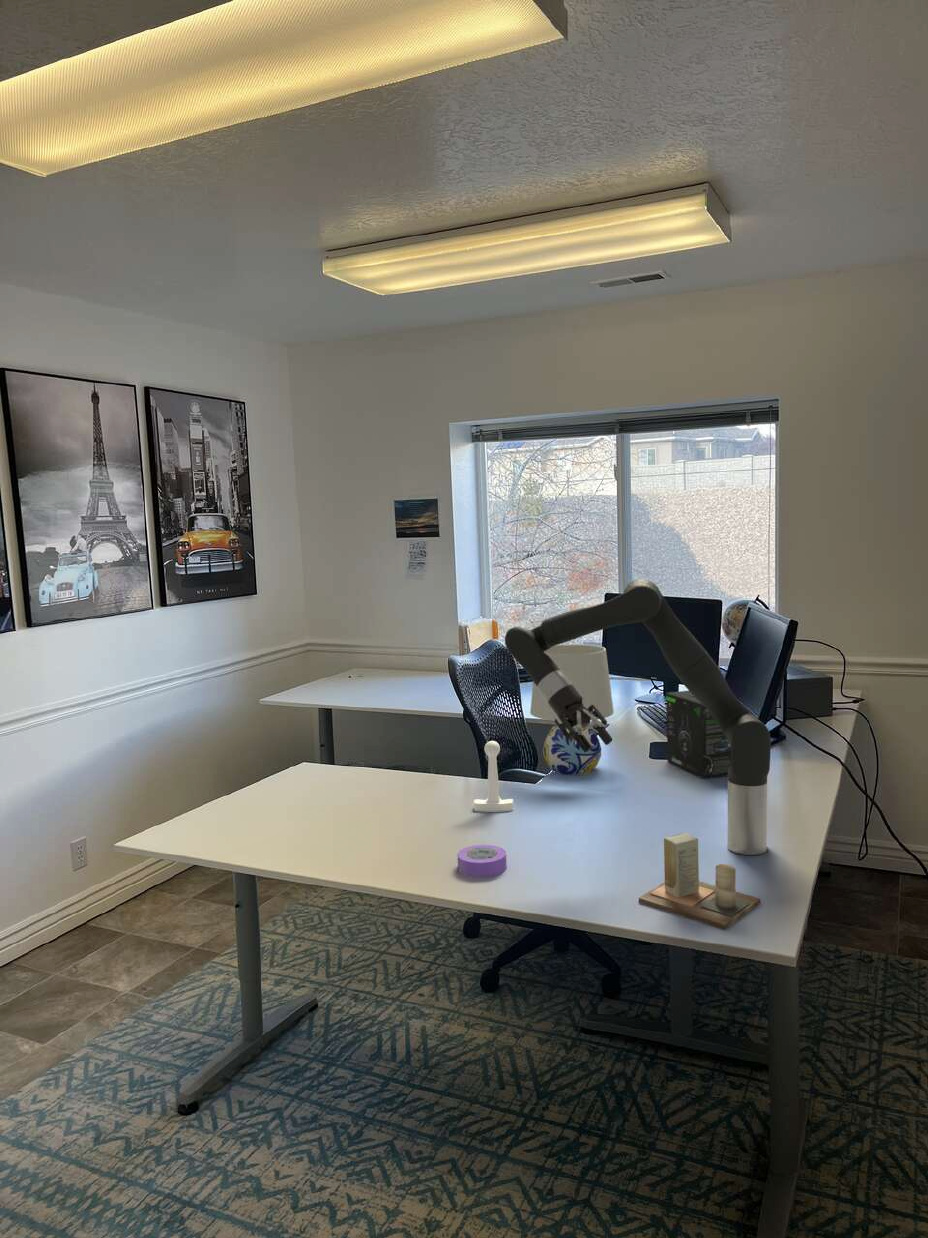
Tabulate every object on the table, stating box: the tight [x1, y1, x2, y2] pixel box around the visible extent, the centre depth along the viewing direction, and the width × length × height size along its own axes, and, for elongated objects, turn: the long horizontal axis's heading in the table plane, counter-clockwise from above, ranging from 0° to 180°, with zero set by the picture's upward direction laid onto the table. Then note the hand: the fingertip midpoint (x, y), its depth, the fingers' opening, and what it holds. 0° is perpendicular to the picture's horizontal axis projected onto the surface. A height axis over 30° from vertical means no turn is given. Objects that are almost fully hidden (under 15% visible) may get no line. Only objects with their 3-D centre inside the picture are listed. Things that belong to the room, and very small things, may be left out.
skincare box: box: [663, 832, 700, 898], centre depth 191 cm, size 6×4×12 cm
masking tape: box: [457, 844, 508, 878], centre depth 212 cm, size 12×12×4 cm
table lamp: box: [529, 643, 615, 776], centre depth 289 cm, size 27×27×40 cm
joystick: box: [473, 740, 514, 813], centre depth 254 cm, size 11×8×20 cm
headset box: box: [665, 690, 731, 779], centre depth 287 cm, size 22×12×26 cm, turn 17°
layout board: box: [638, 863, 762, 931], centre depth 189 cm, size 16×20×9 cm
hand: (599, 746), depth 209 cm, fingers open, 8 cm apart
